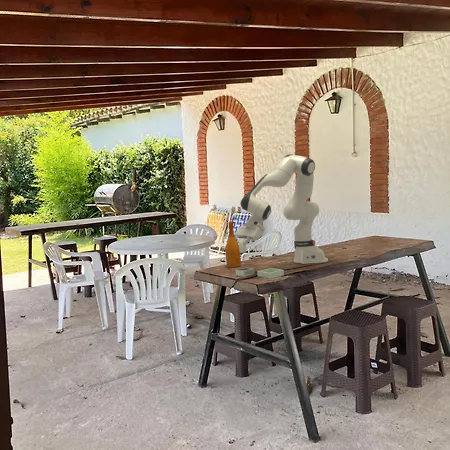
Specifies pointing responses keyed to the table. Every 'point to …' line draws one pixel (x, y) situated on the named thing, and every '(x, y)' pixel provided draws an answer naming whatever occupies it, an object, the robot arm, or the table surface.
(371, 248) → the table surface
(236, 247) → the wine bottle
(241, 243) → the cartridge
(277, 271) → the tray
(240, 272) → the housing
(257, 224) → the robot arm
